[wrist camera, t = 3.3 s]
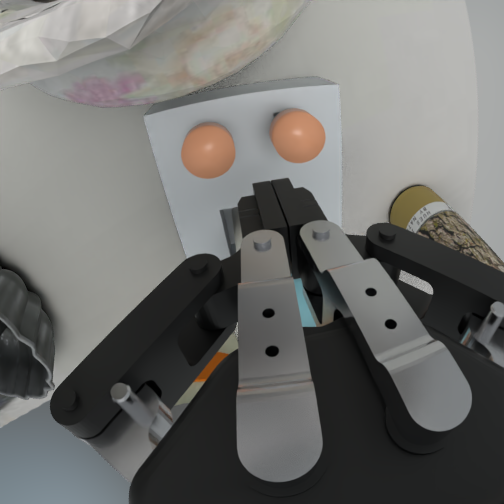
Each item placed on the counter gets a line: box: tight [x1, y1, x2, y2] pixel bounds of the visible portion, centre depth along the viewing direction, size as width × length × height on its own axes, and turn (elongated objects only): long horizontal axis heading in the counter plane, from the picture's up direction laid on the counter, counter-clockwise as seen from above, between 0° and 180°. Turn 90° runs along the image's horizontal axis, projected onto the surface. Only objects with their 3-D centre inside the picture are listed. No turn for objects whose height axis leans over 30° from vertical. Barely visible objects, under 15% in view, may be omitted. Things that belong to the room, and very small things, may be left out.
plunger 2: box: [269, 108, 326, 163], centre depth 19 cm, size 3×3×4 cm
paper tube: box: [390, 186, 504, 272], centre depth 23 cm, size 7×7×25 cm
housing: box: [143, 77, 342, 261], centre depth 28 cm, size 20×14×5 cm
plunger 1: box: [181, 122, 236, 179], centre depth 19 cm, size 3×3×4 cm
